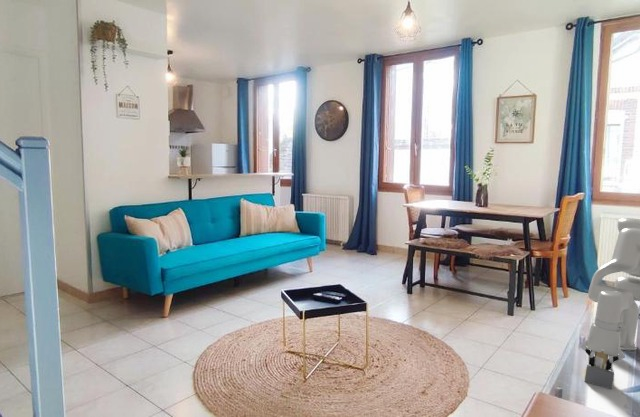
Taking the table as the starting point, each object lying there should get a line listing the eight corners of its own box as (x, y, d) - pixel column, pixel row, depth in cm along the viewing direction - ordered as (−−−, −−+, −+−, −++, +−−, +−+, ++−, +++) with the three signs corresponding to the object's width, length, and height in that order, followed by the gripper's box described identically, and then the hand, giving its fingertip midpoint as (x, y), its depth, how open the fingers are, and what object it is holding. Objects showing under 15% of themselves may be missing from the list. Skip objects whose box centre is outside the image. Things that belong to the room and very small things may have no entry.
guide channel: (585, 353, 184) (587, 340, 183) (609, 359, 180) (611, 346, 179) (584, 381, 161) (586, 366, 160) (611, 389, 157) (614, 374, 156)
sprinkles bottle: (608, 379, 162) (613, 346, 160) (596, 379, 162) (601, 346, 160) (599, 373, 167) (604, 340, 164) (588, 372, 166) (593, 340, 164)
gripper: (633, 326, 159) (625, 371, 162) (580, 315, 168) (574, 358, 171) (634, 333, 153) (626, 380, 156) (580, 321, 162) (573, 366, 165)
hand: (599, 368), depth 164 cm, fingers closed on sprinkles bottle, 4 cm apart
